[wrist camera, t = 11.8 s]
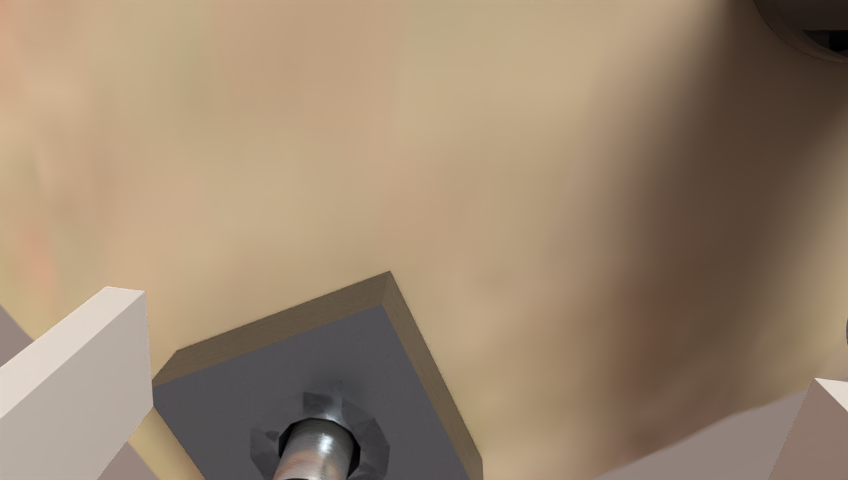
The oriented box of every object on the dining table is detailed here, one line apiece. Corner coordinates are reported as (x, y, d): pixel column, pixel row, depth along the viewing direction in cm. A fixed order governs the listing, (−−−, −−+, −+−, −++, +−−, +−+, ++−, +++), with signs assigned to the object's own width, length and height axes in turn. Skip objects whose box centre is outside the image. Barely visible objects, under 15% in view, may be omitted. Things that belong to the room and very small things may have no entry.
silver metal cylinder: (304, 377, 44) (252, 500, 32) (365, 385, 44) (335, 511, 32) (301, 427, 45) (251, 560, 34) (360, 434, 45) (330, 570, 34)
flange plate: (390, 270, 40) (381, 303, 35) (482, 459, 46) (485, 509, 41) (176, 350, 43) (143, 390, 39) (287, 517, 49) (269, 569, 44)
